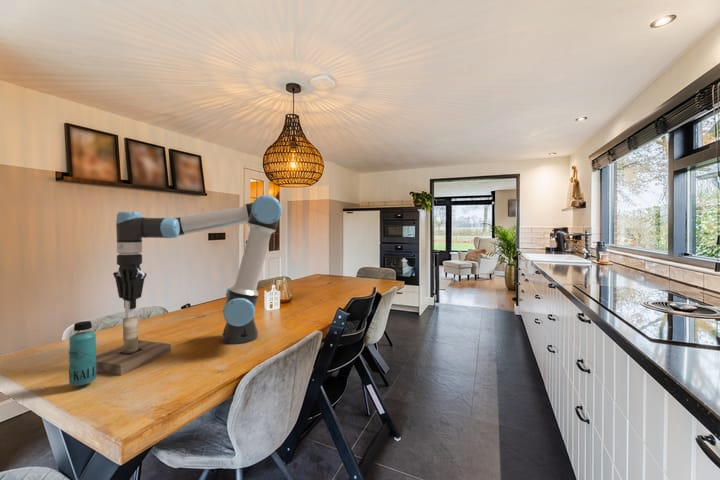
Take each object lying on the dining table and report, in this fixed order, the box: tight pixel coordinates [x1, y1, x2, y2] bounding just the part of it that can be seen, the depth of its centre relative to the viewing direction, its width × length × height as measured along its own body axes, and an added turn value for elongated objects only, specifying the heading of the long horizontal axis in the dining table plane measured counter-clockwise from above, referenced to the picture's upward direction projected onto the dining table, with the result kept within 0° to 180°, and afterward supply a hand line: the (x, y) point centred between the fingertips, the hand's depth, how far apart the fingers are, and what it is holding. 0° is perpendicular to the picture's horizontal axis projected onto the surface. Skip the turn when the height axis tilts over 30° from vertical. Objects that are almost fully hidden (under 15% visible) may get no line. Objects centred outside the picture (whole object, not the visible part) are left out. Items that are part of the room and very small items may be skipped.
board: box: [96, 339, 172, 376], centre depth 114 cm, size 16×20×4 cm
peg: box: [122, 315, 139, 355], centre depth 114 cm, size 5×5×16 cm
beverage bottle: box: [68, 320, 98, 387], centre depth 95 cm, size 6×7×20 cm
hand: (130, 317), depth 114 cm, fingers closed
